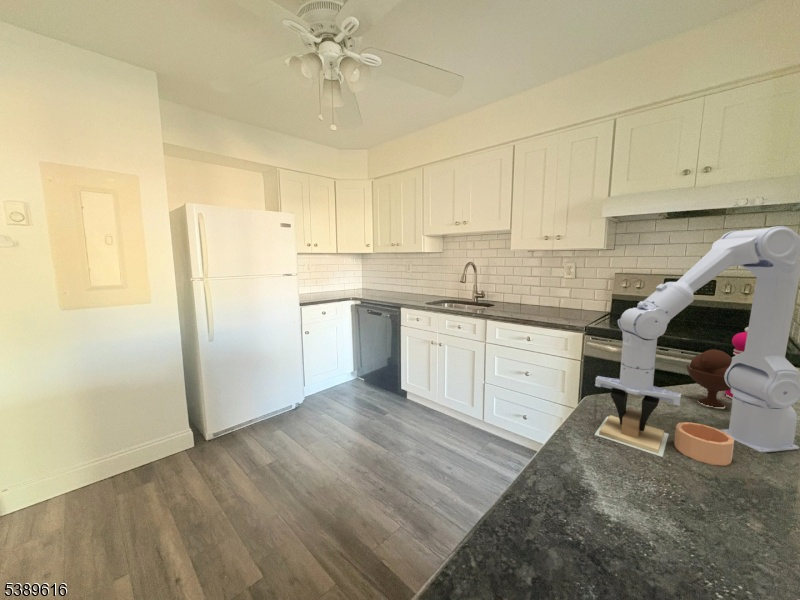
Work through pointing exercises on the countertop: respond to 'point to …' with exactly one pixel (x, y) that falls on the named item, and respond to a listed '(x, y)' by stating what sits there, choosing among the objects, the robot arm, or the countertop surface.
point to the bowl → (704, 443)
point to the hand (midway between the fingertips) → (632, 426)
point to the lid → (632, 431)
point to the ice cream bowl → (710, 374)
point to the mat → (660, 453)
